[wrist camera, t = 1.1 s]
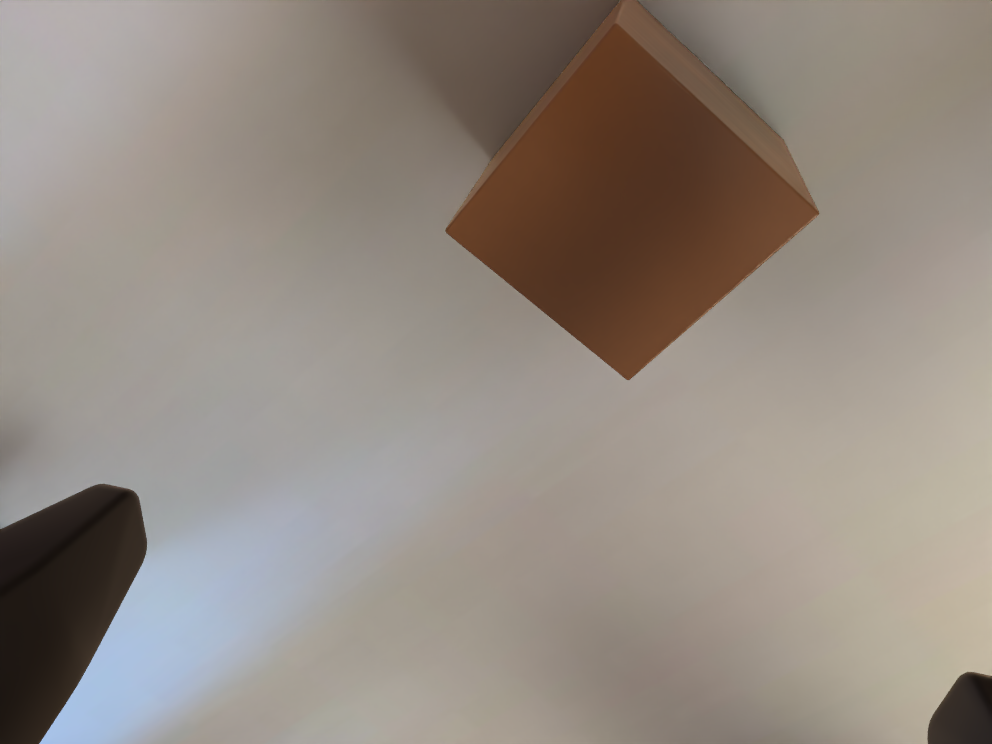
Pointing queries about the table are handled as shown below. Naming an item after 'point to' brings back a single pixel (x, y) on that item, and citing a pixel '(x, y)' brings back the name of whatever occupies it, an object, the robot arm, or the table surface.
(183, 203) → the table surface
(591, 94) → the block
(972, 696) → the robot arm
